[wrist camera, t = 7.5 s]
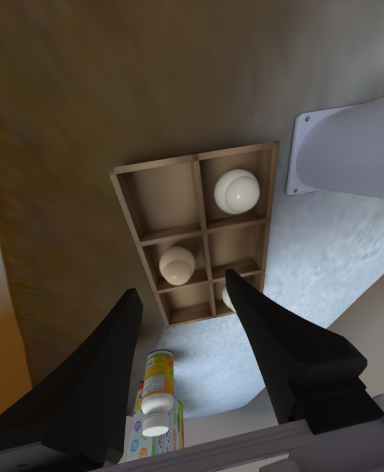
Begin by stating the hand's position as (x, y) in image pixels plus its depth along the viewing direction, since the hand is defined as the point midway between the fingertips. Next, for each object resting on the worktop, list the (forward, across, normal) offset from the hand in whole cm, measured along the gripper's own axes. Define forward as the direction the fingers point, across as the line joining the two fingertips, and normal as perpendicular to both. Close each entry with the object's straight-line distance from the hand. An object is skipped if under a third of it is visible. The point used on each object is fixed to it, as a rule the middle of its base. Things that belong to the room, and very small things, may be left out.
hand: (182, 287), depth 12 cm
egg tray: (+8, -3, +2) cm, 9 cm away
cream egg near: (+8, -7, -6) cm, 12 cm away
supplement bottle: (+9, +9, +26) cm, 29 cm away
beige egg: (+8, +1, +2) cm, 8 cm away
